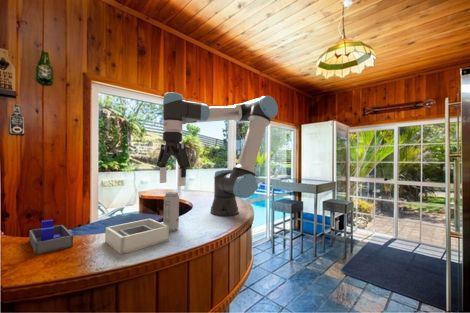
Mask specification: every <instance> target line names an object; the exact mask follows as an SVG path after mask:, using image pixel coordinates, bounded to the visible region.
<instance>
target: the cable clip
mask: <svg viewBox="0 0 470 313" xmlns="http://www.w3.org/2000/svg"><path fill="white" fill-rule="evenodd" d="M53 226H54V219H48V220H46V219H45V220H41V241H46V240H51V239H56V238H60V236H59V235H54V227H53Z"/></svg>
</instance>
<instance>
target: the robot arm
mask: <svg viewBox="0 0 470 313" xmlns="http://www.w3.org/2000/svg"><path fill="white" fill-rule="evenodd" d="M162 108H163V109H162V114H163V119H162V122H163V123H162V130H163V133H162V141H163V142H164V143H165V144H164V143H161V144H160V150H159V154H158V158H157V162H156V166H158V168H159V183H160V184H166V183H167V170H168V167H167V164H168V162H169V160H170V158H171V157H172V156H173V157H174V158H175V160H176V162H177V164H178V182H177V183H178V187H186V179H187V169H188V168H190V167H191V163H190V160H189V157H188V153H187V150H186V143H182V141H183V133H182V132H183V125H186V124H197V123H207V122H208V123H209V122H210V123H211V122H221V121H235V122H249V125H248V127H247V131H246V135H245V138H244V141H243V145H242V148H241V152H240V155H239V159H238V161H237V164H236V165H234V166H233V168H232V169H219V170H216V171H215V172H214V177H213V179H214V183H213V184H214V185H213V187H214V188H213V191H214V192H213V201H212V203H211V204H212V205H211V206H210V214H212V215H215V216H220V215H222V217H227V216H226V215H230V216H234V215H233V214H235V215H237V214H236V213H238V214H239V206H238V203H237V199H236V198H239V199H241V198H242V199H247V198H250V197H252V196H253V195H254V194H255V192H256V191H257V188H258V180H257V178H256V171H255V166H256V163H257V160H258V156H259V152H260V148H261V145H262V141H263V138H264V135H265V131H266V127H268V126H270V124H271V121H272V119H274V118H275V117H276V116H277V115H278V113H279V107H278V104H277V101H276V100H275V99H274V97H273V96H270V95H265V96H264V95H261V96H260V97H258V98H255V99H250V100H248V101H245V102H242V103H235V104H233V105H227V106H226V105H224V106H219V105H218V106H209V105H208V104H206V103H202V102H195V101H188V100H185V99H184V97H183V94H180V93H179V92H171V91H170V92H166V93H165V94H164V95H163V100H162Z"/></svg>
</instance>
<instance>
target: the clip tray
mask: <svg viewBox="0 0 470 313" xmlns="http://www.w3.org/2000/svg"><path fill="white" fill-rule="evenodd" d="M53 227H54V235H59V236H60V238H56V239H51V240H46V241H41V228H42V227H41V228H35V229H31V230H29V232H28V233H29V235H28V236H29V238H28V241H29V243H30V245H31V248H32V251H33V253H34V255H35V256H37V255H43V254H46V253H50V252H54V251H59V250H64V249H67V248H72V247H73V246H74V235H73V234H72V233H71V232H70V231H69V230H68V229H67V228H66V227H65V226H64V225H63V224H59V225H53Z"/></svg>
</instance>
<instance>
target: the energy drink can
mask: <svg viewBox="0 0 470 313" xmlns="http://www.w3.org/2000/svg"><path fill="white" fill-rule="evenodd" d="M179 217H180V196H179V193H178V191H169V192H168V191H167V192H165V195H164V196H163V223H162V224H165V225H167V226H169V233H170V232H176V231H177V230H178V228H179V222H180V220H179V219H180V218H179Z"/></svg>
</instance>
